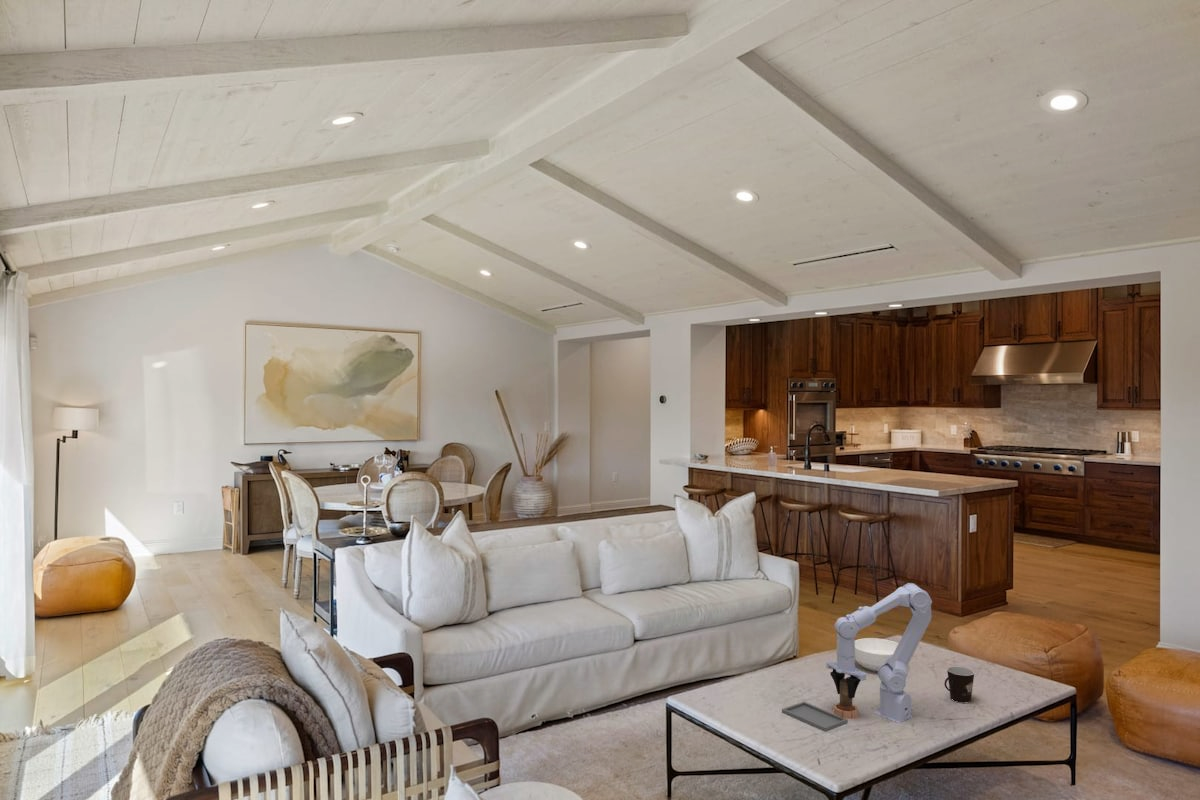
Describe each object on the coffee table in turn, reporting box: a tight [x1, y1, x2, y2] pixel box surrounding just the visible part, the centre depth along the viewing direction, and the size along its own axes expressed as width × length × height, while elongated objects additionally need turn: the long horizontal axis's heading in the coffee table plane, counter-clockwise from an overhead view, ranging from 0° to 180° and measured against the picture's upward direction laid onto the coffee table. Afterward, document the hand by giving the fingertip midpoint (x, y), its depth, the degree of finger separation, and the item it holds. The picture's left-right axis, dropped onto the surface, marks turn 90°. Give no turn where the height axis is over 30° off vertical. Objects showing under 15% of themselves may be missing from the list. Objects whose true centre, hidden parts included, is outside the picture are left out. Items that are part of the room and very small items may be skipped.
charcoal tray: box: [781, 701, 849, 733], centre depth 256 cm, size 18×11×2 cm, turn 35°
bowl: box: [854, 637, 899, 672], centre depth 303 cm, size 20×20×8 cm
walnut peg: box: [839, 677, 853, 707], centre depth 259 cm, size 4×4×8 cm
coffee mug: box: [944, 666, 975, 703], centre depth 271 cm, size 12×9×10 cm
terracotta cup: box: [832, 702, 860, 720], centre depth 259 cm, size 8×8×2 cm
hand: (845, 695), depth 259 cm, fingers closed on walnut peg, 4 cm apart
